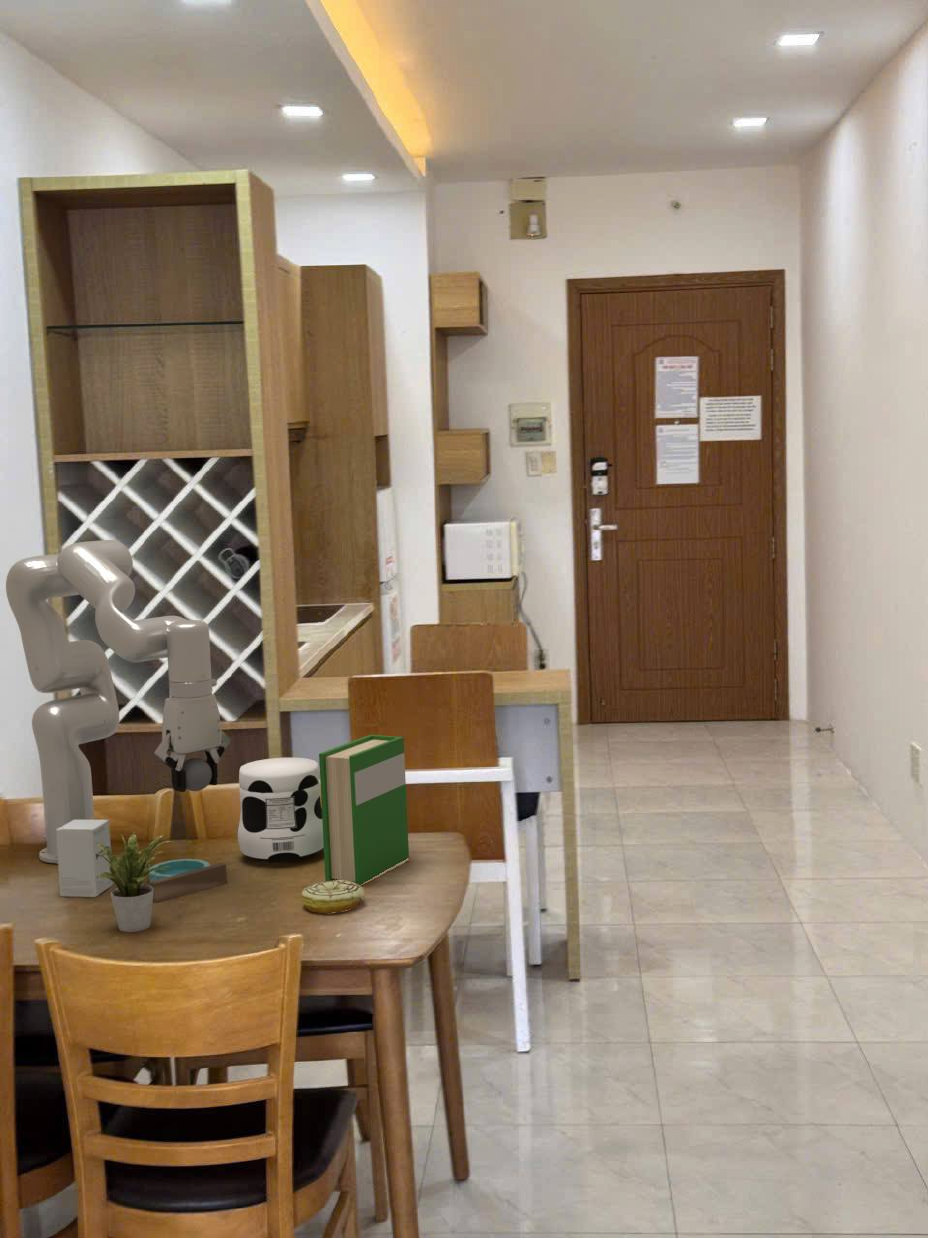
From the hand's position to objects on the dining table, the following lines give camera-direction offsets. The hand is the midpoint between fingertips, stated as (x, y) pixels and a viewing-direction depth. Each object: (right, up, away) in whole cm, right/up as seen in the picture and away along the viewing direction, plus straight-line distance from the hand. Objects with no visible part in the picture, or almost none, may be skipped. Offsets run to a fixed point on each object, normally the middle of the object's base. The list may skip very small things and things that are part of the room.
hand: (195, 786), depth 262 cm
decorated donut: (+26, -20, -11) cm, 35 cm away
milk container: (+13, -16, +21) cm, 30 cm away
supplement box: (-20, -20, +3) cm, 28 cm away
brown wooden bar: (-1, -19, 0) cm, 19 cm away
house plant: (-6, -22, -19) cm, 30 cm away
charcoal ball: (0, +2, 0) cm, 2 cm away
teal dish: (-4, -18, +8) cm, 20 cm away
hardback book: (+31, -17, +8) cm, 36 cm away
